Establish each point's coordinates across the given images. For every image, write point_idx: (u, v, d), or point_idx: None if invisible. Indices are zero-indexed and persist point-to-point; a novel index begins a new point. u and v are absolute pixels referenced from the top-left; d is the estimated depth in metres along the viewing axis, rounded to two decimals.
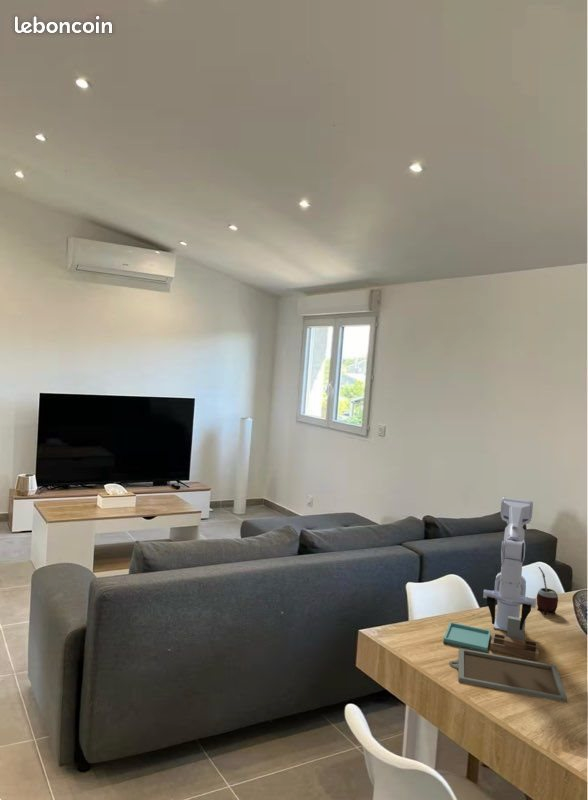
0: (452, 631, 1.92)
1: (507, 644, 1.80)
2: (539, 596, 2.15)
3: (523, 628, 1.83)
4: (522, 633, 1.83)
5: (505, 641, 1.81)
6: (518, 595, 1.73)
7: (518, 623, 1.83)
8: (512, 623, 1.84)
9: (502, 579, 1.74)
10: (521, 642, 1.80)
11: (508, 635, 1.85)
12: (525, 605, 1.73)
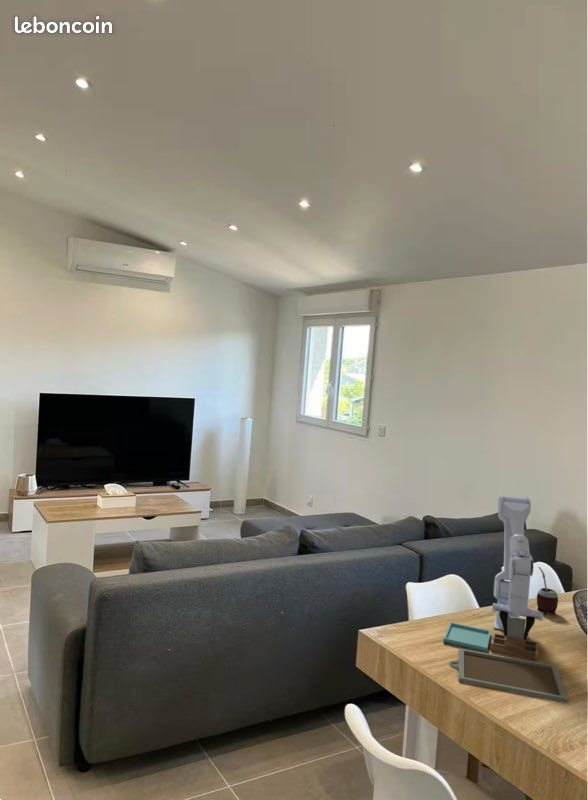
0: (452, 631, 1.92)
1: (508, 643, 1.81)
2: (539, 596, 2.15)
3: (523, 628, 1.83)
4: (522, 633, 1.83)
5: (506, 640, 1.81)
6: (526, 608, 1.82)
7: (518, 623, 1.83)
8: (512, 623, 1.84)
9: (512, 594, 1.83)
10: (522, 641, 1.81)
11: (508, 635, 1.85)
12: (533, 618, 1.82)
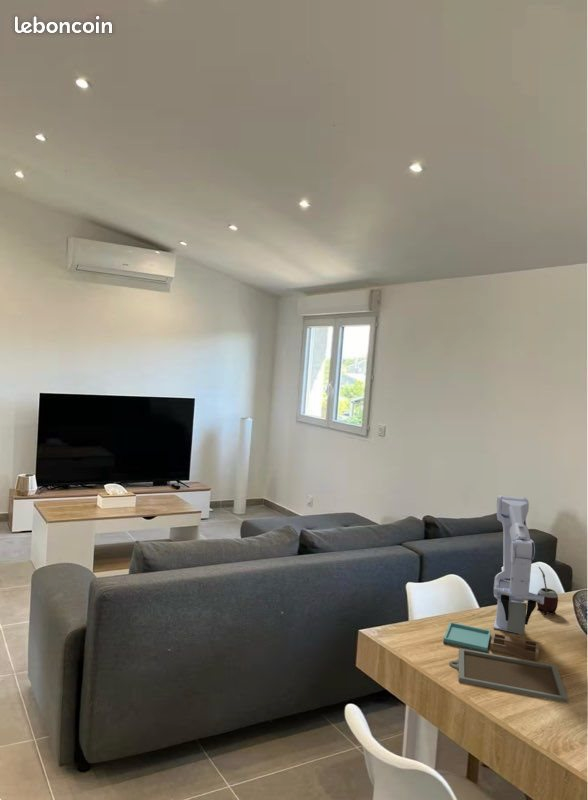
0: (452, 631, 1.92)
1: (508, 644, 1.81)
2: None
3: (524, 612, 1.83)
4: (523, 617, 1.83)
5: (506, 641, 1.81)
6: (527, 592, 1.82)
7: (519, 607, 1.83)
8: (513, 607, 1.84)
9: (513, 577, 1.83)
10: (522, 641, 1.81)
11: (509, 619, 1.84)
12: (534, 602, 1.82)
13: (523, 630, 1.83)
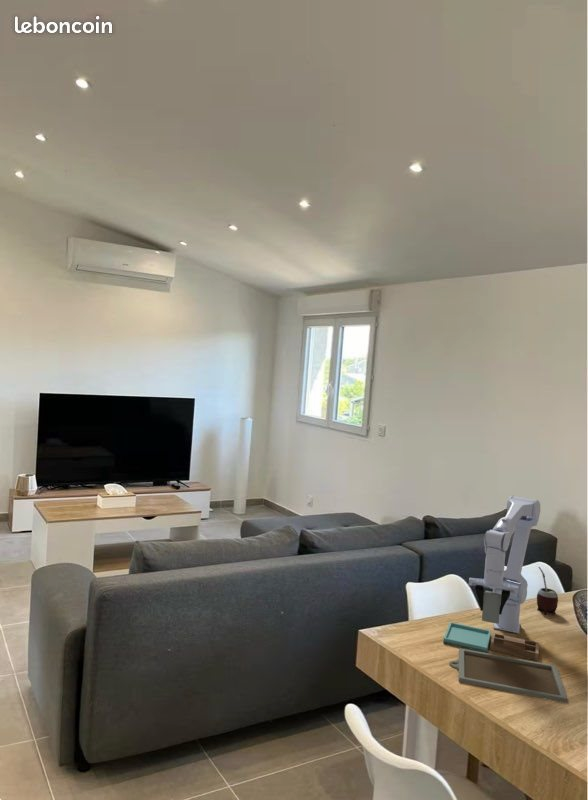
0: (452, 631, 1.92)
1: (507, 643, 1.81)
2: (539, 596, 2.15)
3: (499, 602, 1.84)
4: (498, 607, 1.85)
5: (505, 640, 1.81)
6: (501, 582, 1.84)
7: (494, 597, 1.85)
8: (488, 597, 1.86)
9: (485, 566, 1.86)
10: (521, 641, 1.81)
11: (484, 609, 1.86)
12: (508, 592, 1.84)
13: (497, 620, 1.85)
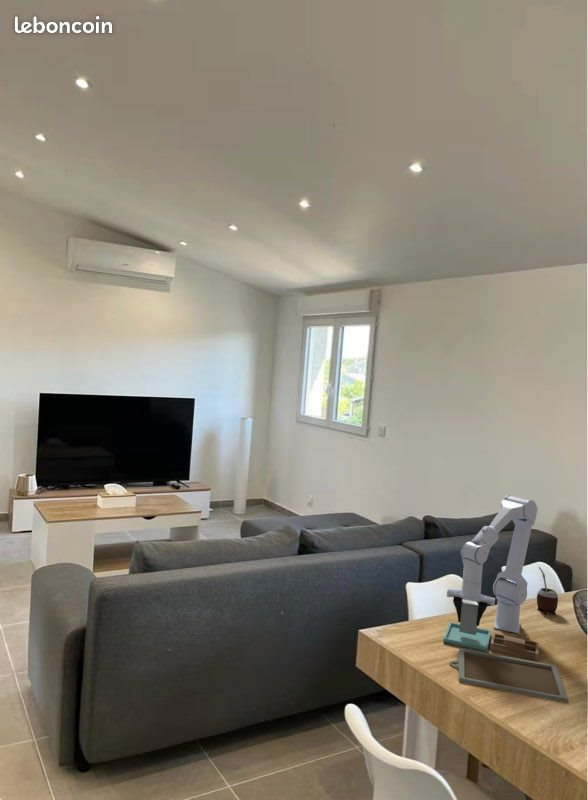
0: (452, 631, 1.92)
1: (507, 643, 1.81)
2: (539, 596, 2.15)
3: (476, 614, 1.86)
4: (475, 619, 1.86)
5: (505, 640, 1.81)
6: (478, 594, 1.86)
7: (471, 609, 1.87)
8: (465, 609, 1.87)
9: None
10: (521, 641, 1.81)
11: (461, 621, 1.88)
12: (485, 603, 1.85)
13: (475, 631, 1.86)
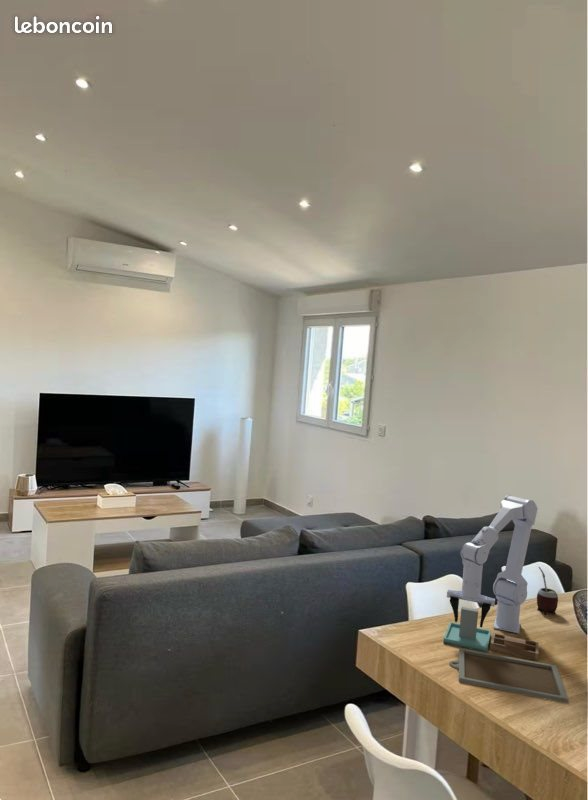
0: (452, 631, 1.92)
1: (508, 644, 1.81)
2: (539, 596, 2.15)
3: (475, 619, 1.86)
4: (474, 623, 1.86)
5: (506, 641, 1.81)
6: (478, 595, 1.86)
7: (471, 614, 1.87)
8: (465, 614, 1.88)
9: None
10: (522, 641, 1.81)
11: (461, 625, 1.88)
12: (485, 604, 1.85)
13: (474, 636, 1.86)
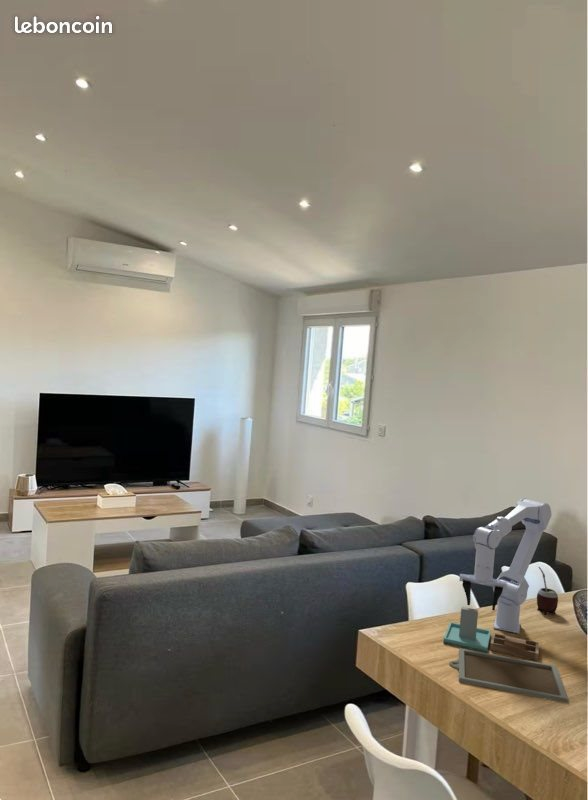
0: (452, 631, 1.92)
1: (508, 644, 1.81)
2: (539, 596, 2.15)
3: (475, 619, 1.86)
4: (474, 623, 1.86)
5: (506, 641, 1.81)
6: (491, 578, 1.89)
7: (471, 614, 1.87)
8: (465, 614, 1.88)
9: (475, 562, 1.92)
10: (522, 641, 1.81)
11: (461, 625, 1.88)
12: (497, 587, 1.89)
13: (474, 636, 1.86)
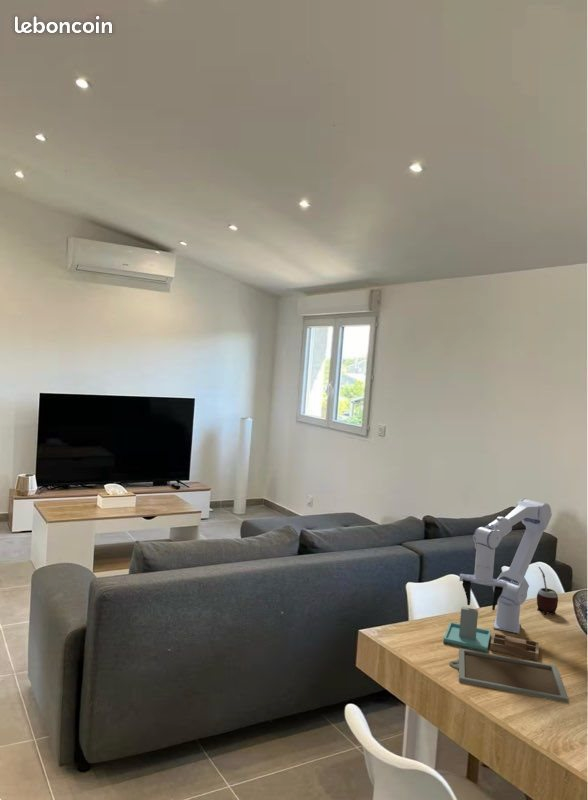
0: (452, 631, 1.92)
1: (509, 644, 1.80)
2: (539, 596, 2.15)
3: (475, 619, 1.86)
4: (474, 623, 1.86)
5: (507, 641, 1.80)
6: (491, 578, 1.89)
7: (471, 614, 1.87)
8: (465, 614, 1.88)
9: (475, 562, 1.92)
10: (522, 641, 1.81)
11: (461, 625, 1.88)
12: (497, 587, 1.89)
13: (474, 636, 1.86)
